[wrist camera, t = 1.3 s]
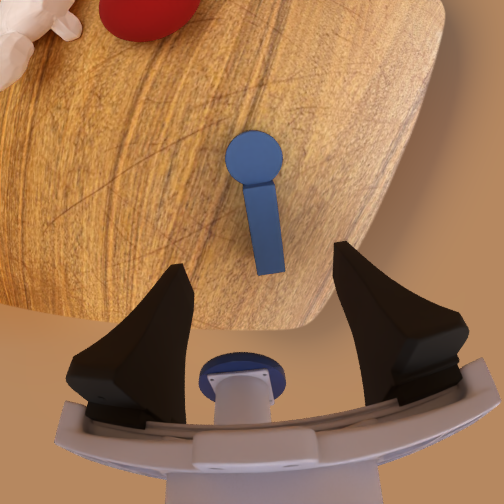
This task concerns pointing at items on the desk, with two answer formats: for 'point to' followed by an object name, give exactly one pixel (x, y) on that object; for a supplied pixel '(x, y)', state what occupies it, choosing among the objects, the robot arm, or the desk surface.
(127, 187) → the desk surface
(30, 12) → the white animal figurine
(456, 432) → the robot arm
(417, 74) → the desk surface
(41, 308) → the desk surface
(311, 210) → the desk surface
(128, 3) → the christmas ornament
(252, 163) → the blue long-handled part
